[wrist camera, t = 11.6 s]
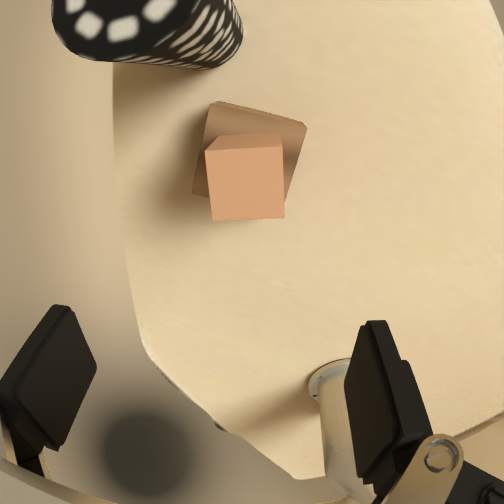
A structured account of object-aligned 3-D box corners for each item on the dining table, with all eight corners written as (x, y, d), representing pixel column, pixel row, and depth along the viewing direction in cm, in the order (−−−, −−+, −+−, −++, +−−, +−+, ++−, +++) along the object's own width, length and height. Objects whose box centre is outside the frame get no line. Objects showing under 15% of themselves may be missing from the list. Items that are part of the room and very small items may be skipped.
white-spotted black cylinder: (241, -5, 25) (208, -98, 7) (245, 66, 29) (214, 44, 11) (162, 5, 25) (54, -51, 8) (166, 74, 29) (53, 79, 12)
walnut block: (279, 197, 36) (280, 215, 32) (201, 178, 35) (191, 193, 31) (301, 121, 32) (307, 128, 27) (218, 101, 31) (210, 103, 27)
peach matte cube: (279, 132, 28) (282, 146, 22) (281, 188, 30) (284, 218, 24) (219, 135, 28) (204, 151, 22) (224, 191, 31) (212, 220, 25)
